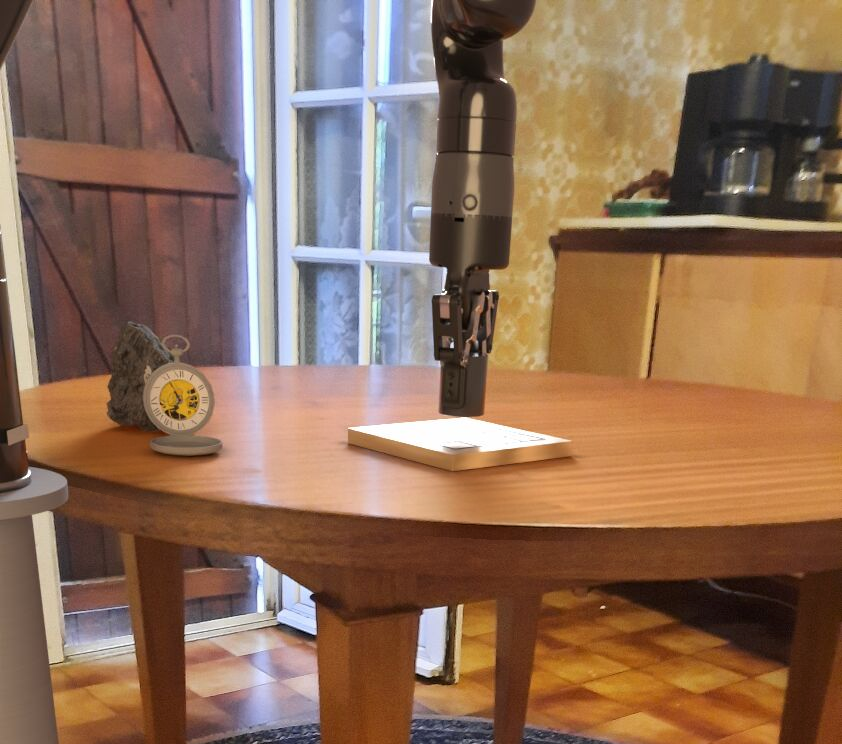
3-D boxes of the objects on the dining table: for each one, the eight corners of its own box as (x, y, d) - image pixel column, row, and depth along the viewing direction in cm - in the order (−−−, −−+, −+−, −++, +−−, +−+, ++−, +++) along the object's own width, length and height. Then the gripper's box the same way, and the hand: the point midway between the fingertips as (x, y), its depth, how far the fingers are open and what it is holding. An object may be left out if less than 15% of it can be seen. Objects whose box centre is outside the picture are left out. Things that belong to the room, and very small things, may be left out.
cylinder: (459, 418, 103) (463, 357, 101) (428, 411, 106) (431, 352, 104) (493, 415, 106) (498, 355, 103) (462, 408, 109) (466, 350, 106)
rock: (80, 393, 113) (113, 304, 108) (159, 413, 120) (193, 331, 115) (125, 453, 107) (162, 362, 102) (206, 471, 114) (244, 386, 109)
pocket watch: (184, 461, 96) (177, 343, 92) (123, 448, 100) (114, 335, 96) (249, 450, 102) (246, 339, 98) (189, 439, 106) (183, 331, 102)
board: (452, 471, 97) (453, 454, 97) (347, 443, 108) (347, 427, 107) (571, 456, 107) (573, 440, 106) (464, 431, 118) (465, 417, 117)
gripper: (457, 212, 105) (448, 393, 113) (406, 207, 93) (400, 410, 101) (530, 215, 103) (516, 399, 111) (488, 210, 91) (476, 417, 98)
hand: (461, 403), depth 106 cm, fingers closed on cylinder, 4 cm apart
